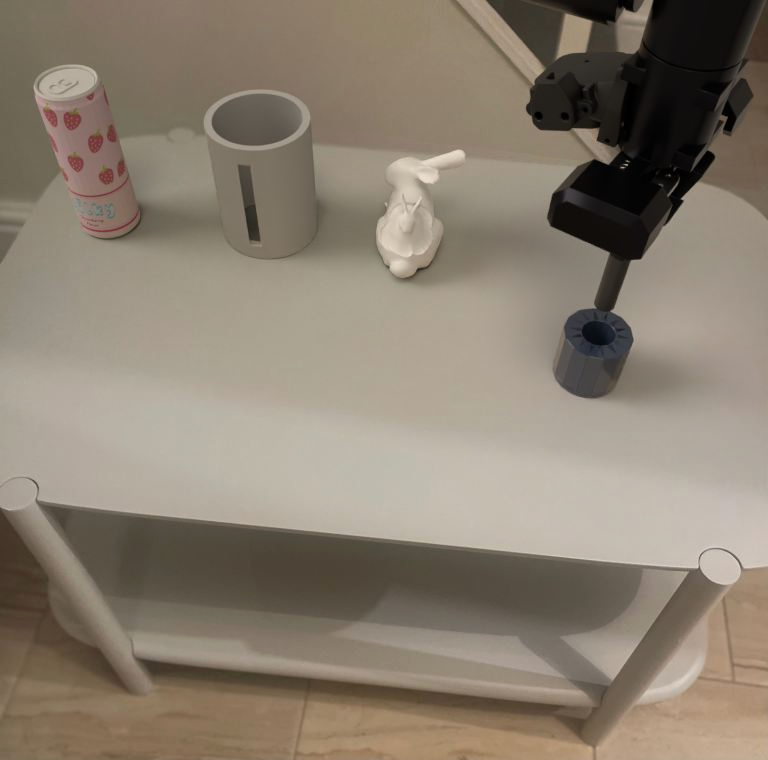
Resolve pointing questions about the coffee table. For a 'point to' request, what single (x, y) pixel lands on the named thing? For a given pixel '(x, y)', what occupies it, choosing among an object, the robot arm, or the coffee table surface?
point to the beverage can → (87, 149)
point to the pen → (611, 284)
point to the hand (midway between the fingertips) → (623, 249)
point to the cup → (263, 170)
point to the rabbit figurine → (412, 213)
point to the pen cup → (592, 352)
